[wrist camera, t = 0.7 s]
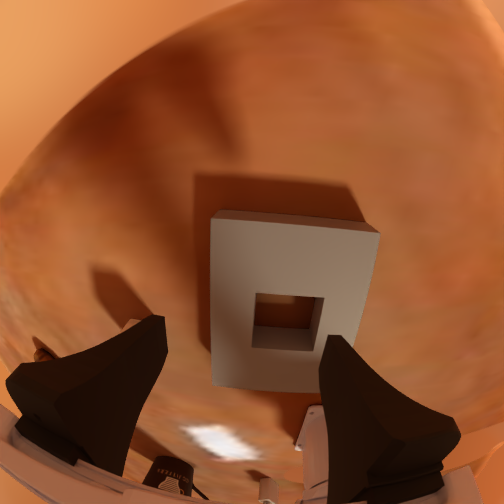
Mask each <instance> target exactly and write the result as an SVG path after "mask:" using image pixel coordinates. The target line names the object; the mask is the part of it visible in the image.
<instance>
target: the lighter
mask: <svg viewBox="0 0 504 504" xmlns="http://www.w3.org/2000/svg"><path fill="white" fill-rule="evenodd" d="M278 494H279V485H278V484H277V483H276V482H275V481H274V480H272V479H271V478H261V479H260V487H259V499H258V500H259V501H260V502H262V503H263V504H278Z"/></svg>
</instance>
